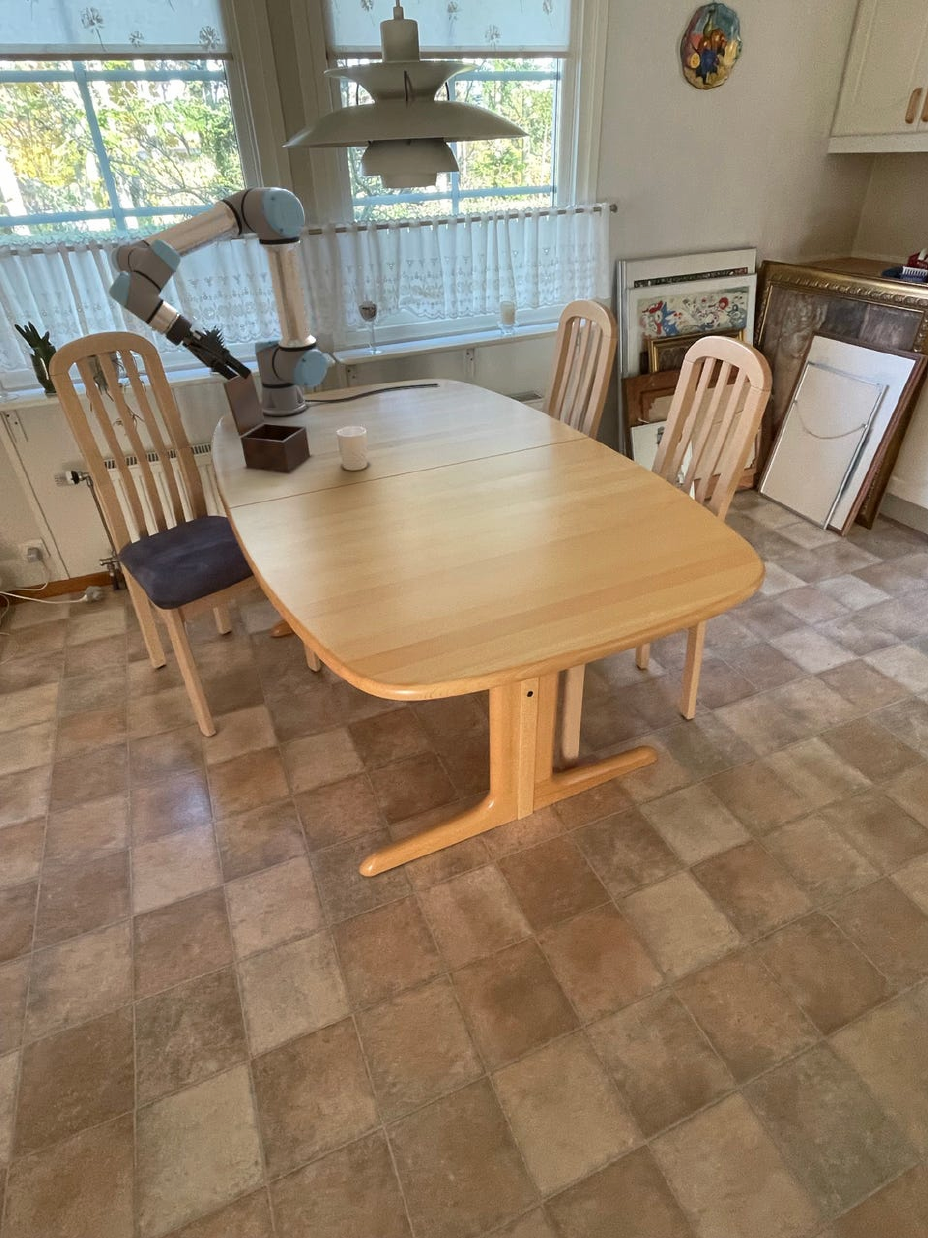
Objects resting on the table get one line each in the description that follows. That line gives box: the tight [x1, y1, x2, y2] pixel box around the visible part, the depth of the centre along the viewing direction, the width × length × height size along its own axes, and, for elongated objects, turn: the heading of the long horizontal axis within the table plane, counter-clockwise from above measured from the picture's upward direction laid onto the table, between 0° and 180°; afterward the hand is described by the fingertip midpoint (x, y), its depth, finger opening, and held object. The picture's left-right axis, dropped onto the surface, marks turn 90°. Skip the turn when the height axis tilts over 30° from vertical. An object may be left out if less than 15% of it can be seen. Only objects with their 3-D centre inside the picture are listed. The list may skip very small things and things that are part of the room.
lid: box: [222, 372, 266, 437], centre depth 191 cm, size 14×12×1 cm
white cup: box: [336, 425, 368, 471], centre depth 192 cm, size 8×8×10 cm
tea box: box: [240, 422, 311, 473], centre depth 196 cm, size 13×12×9 cm
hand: (242, 377), depth 193 cm, fingers open, 13 cm apart
